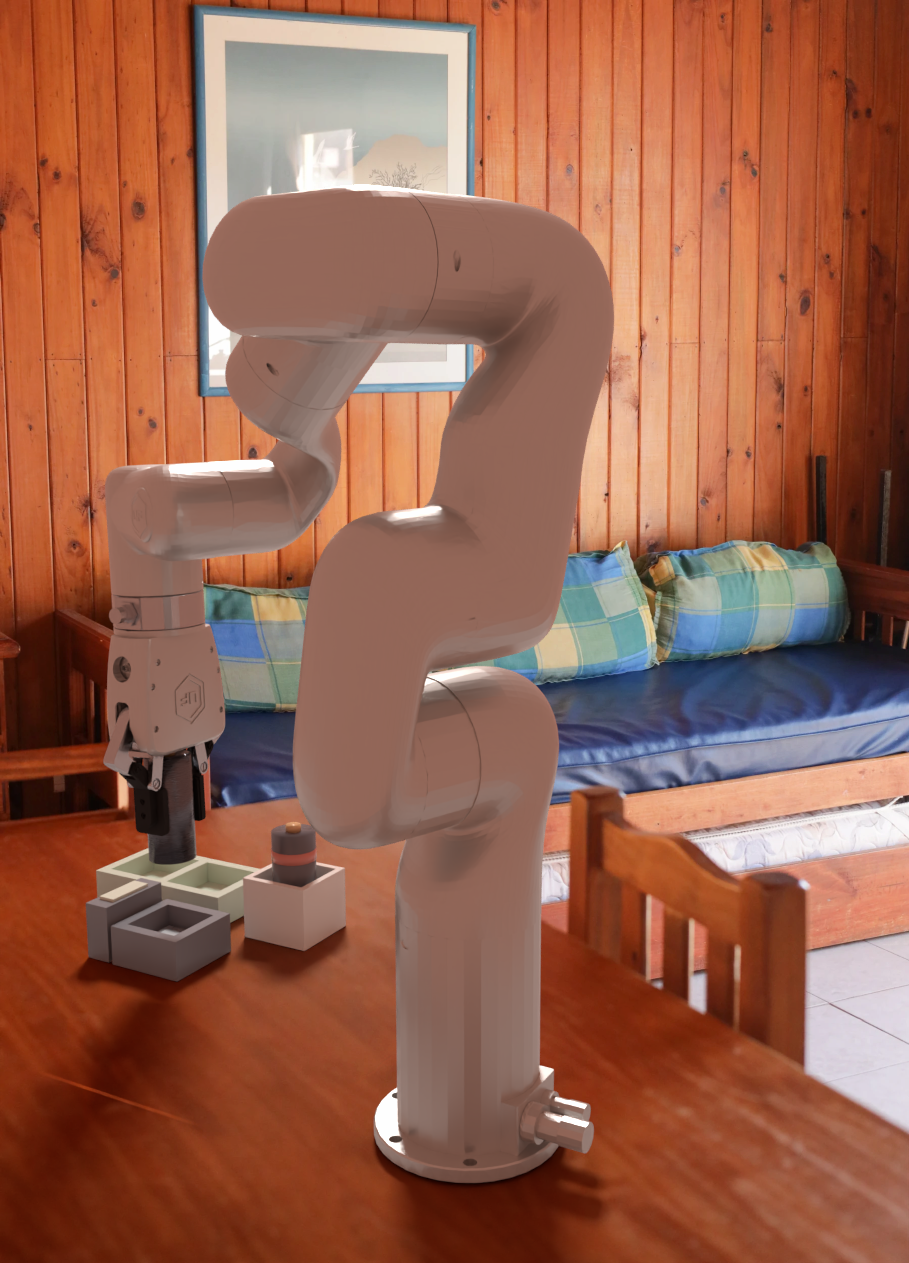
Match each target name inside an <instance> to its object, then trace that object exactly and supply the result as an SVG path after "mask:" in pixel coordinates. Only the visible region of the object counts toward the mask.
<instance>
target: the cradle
mask: <svg viewBox="0 0 909 1263" xmlns="http://www.w3.org/2000/svg"><path fill="white" fill-rule="evenodd" d="M85 918H86V920H85V921H86V933H87V934H86V935H87V937H86V938H87V950H88V951H87V953H88V954H87V955H88V956H87V957H88V958H90V959H94V960H98V961H101V962H104V963H105V962H106V963H108V964H109V963H112V965H113V966H117V967H122V968H124V969H128V970H133V971H136V972H139V973H143V974H147V975H151V976H155V977H159V978H161V979H166V980H170V981H173V982H176V983H177V982H179V981H181V980H183V979H184V978H187V977H188V976H189V975H192V974H193V973H195V972H197V971H199V970H200V969H202V968H203V967H205V966H207V965H209V964H211V963H212V962H215V961H216V960H217V959H218V960H219V958H221V957H223V956H225V955H227V954H228V953H230V952H232V938H231V937H232V936H231V923H230V913H226V912H222V911H217V910H213V909H209V908H204V907H200V906H196V905H191V904H187V903H183V902H178V901H174V900H170V899H165V900H163V901H162V890H161V882H157V881H153V880H148V879H144V878H140V879H137V880H135V881H132V882H130V883H128V884H125V885H123V886H121V887H119V888H117V889H114V890H112V891H110V892H108V893H106V894H103V895H101V896H100V897H98V898H97V897H95V898H94V899H91V900H89V901H87V902H85ZM169 925H170V926H175V927H179V928H183V929H186V930H184V931H182V932H180V933H179V934H177V935H175V936H173V935H169V934H165V933H161V932H157V931H159V930H161V929H163V928H165V927H167V926H169Z"/></svg>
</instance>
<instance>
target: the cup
mask: <svg viewBox="0 0 909 1263" xmlns="http://www.w3.org/2000/svg"><path fill="white" fill-rule="evenodd" d="M316 834H317V832H316V831H315V830H314V829H313V828H312V827H311V825H310V824H303V823H301V822H298V821H291V822H286V823H285V824H282V825H278V826H276V827H273V828H272V829H271V831H270V839H271V842H270V844H271V848H270V857H271V858H270V859H271V863H270V864H268V865H266V866H264V867H261V868H259V869H260V870H258V871H256V872H254V873H252V874H250V875H248V876H246V877H244V878H243V896H244V916H243V918H244V919H243V923H244V926H243V927H244V938H248V939H253V940H256V941H260V942H265V943H268V944H269V943H270V944H274V945H278V946H282V947H286V948H291V949H293V950H294V949H295V950H298V951H302V952H305V951H307V950H308V949H310V948H312V947H313V946H316V945H317V944H319V943H320V942H322V941H323V940H325V939H327V938H328V937H330V936H331V935H333V934H335V933H336V932H338V931H339V930H342V929H343V928H344V927H347V912H346V910H347V909H346V908H347V907H346V904H347V903H346V868H345V867H341V866H337V865H332V864H328V863H322V862H318V861H317V858H318V855H317V852H318V851H317V848H318V847H317V836H316Z"/></svg>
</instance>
